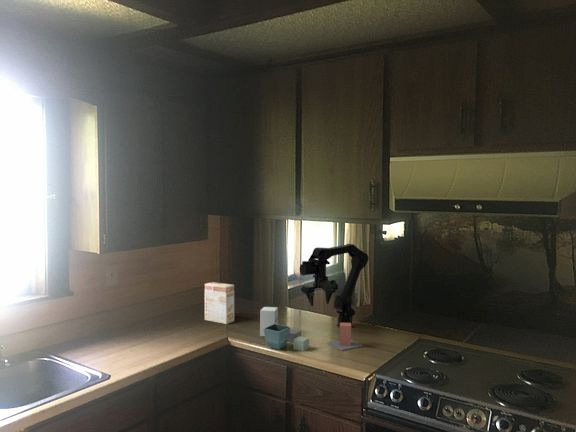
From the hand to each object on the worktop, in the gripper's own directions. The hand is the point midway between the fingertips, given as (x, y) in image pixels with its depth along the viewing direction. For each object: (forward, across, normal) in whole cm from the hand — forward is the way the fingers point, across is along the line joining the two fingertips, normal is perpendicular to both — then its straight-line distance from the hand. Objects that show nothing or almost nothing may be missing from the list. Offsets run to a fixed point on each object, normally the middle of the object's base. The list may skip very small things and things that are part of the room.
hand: (319, 305), depth 244 cm
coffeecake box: (+13, -35, +42) cm, 56 cm away
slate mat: (+13, -2, -23) cm, 26 cm away
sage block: (+13, -22, -17) cm, 30 cm away
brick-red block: (+12, -2, -23) cm, 26 cm away
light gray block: (+13, -19, -6) cm, 24 cm away
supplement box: (+13, -24, +8) cm, 29 cm away
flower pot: (+13, -30, -10) cm, 34 cm away
